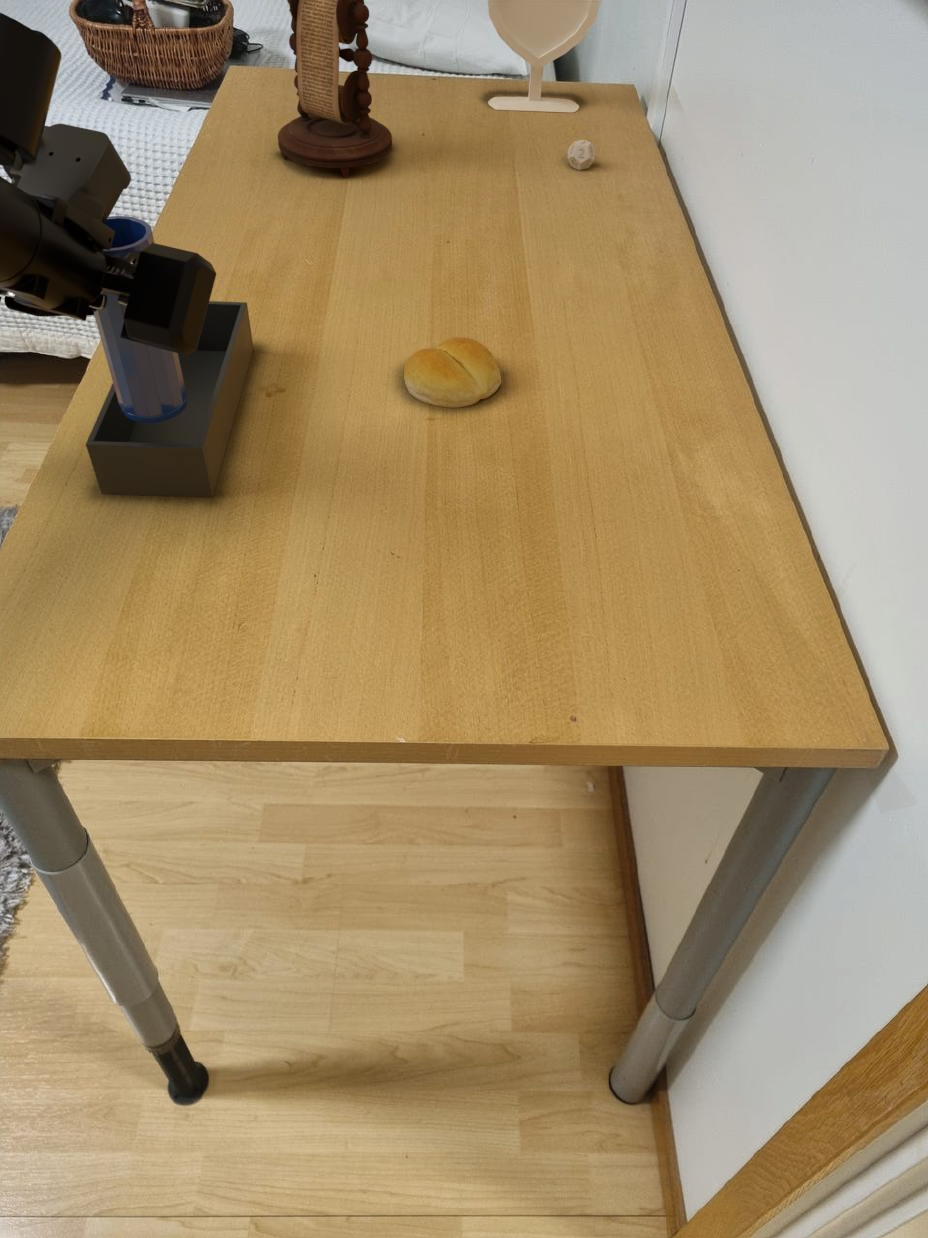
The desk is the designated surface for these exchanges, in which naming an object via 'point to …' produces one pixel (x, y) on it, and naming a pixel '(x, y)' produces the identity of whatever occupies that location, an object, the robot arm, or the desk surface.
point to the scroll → (332, 89)
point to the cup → (138, 344)
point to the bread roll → (452, 373)
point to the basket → (180, 419)
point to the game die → (581, 154)
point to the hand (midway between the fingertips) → (145, 315)
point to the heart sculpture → (540, 42)
